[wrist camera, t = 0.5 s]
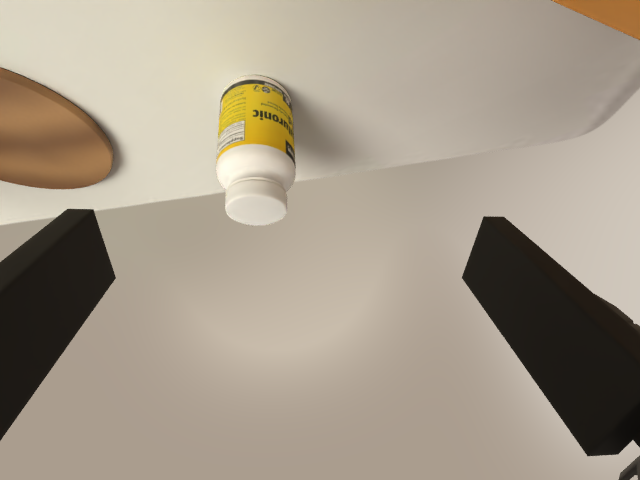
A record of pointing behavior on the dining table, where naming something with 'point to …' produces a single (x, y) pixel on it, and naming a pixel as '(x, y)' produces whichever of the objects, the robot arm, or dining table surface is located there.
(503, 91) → the dining table surface
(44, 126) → the wooden coaster
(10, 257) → the robot arm
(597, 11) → the orange juice
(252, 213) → the supplement bottle
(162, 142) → the dining table surface
